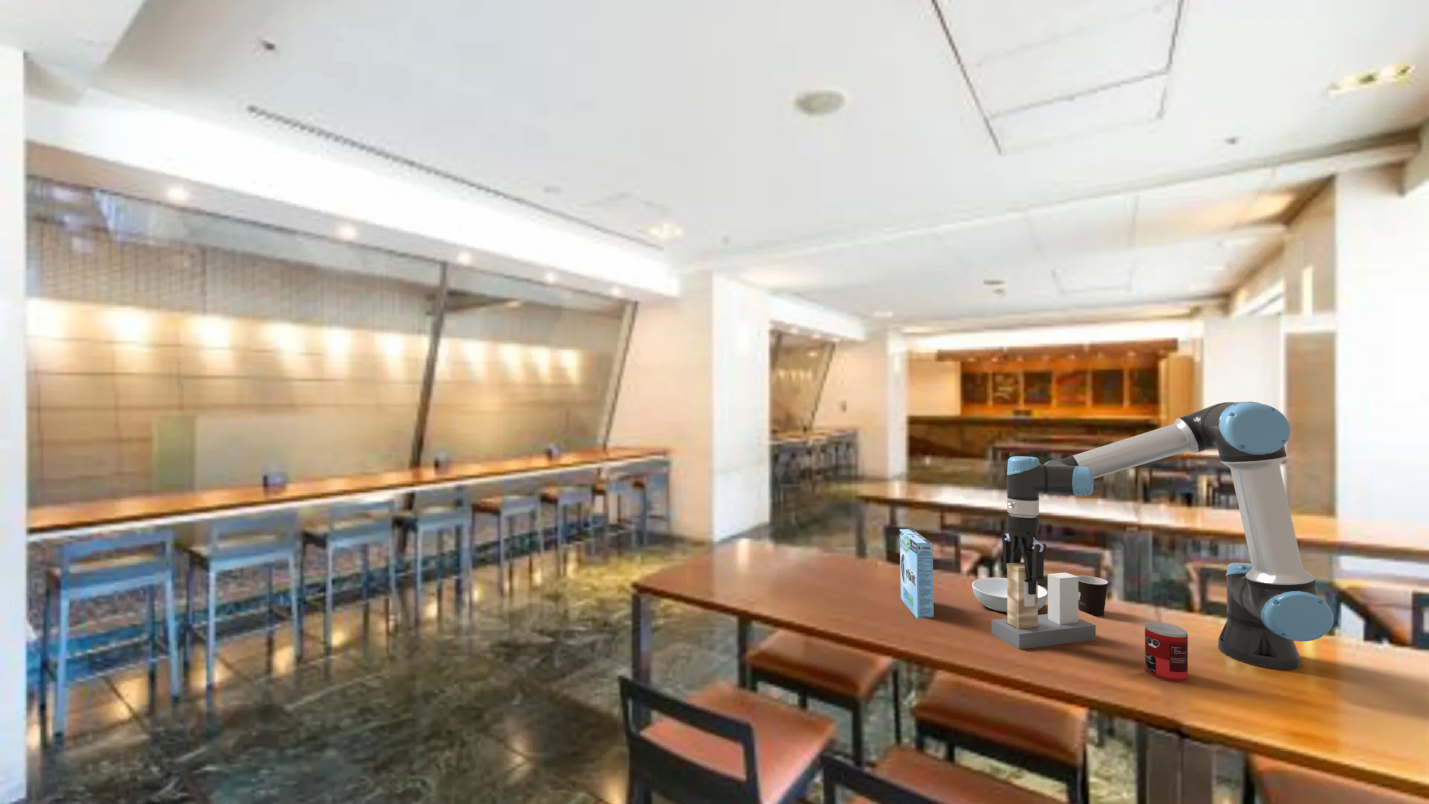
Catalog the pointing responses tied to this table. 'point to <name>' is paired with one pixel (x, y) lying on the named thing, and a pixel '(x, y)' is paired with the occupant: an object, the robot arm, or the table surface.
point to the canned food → (1166, 651)
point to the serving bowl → (999, 593)
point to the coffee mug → (1092, 595)
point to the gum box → (916, 573)
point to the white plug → (1063, 598)
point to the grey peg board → (1043, 633)
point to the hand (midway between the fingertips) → (1022, 602)
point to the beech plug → (1019, 598)
